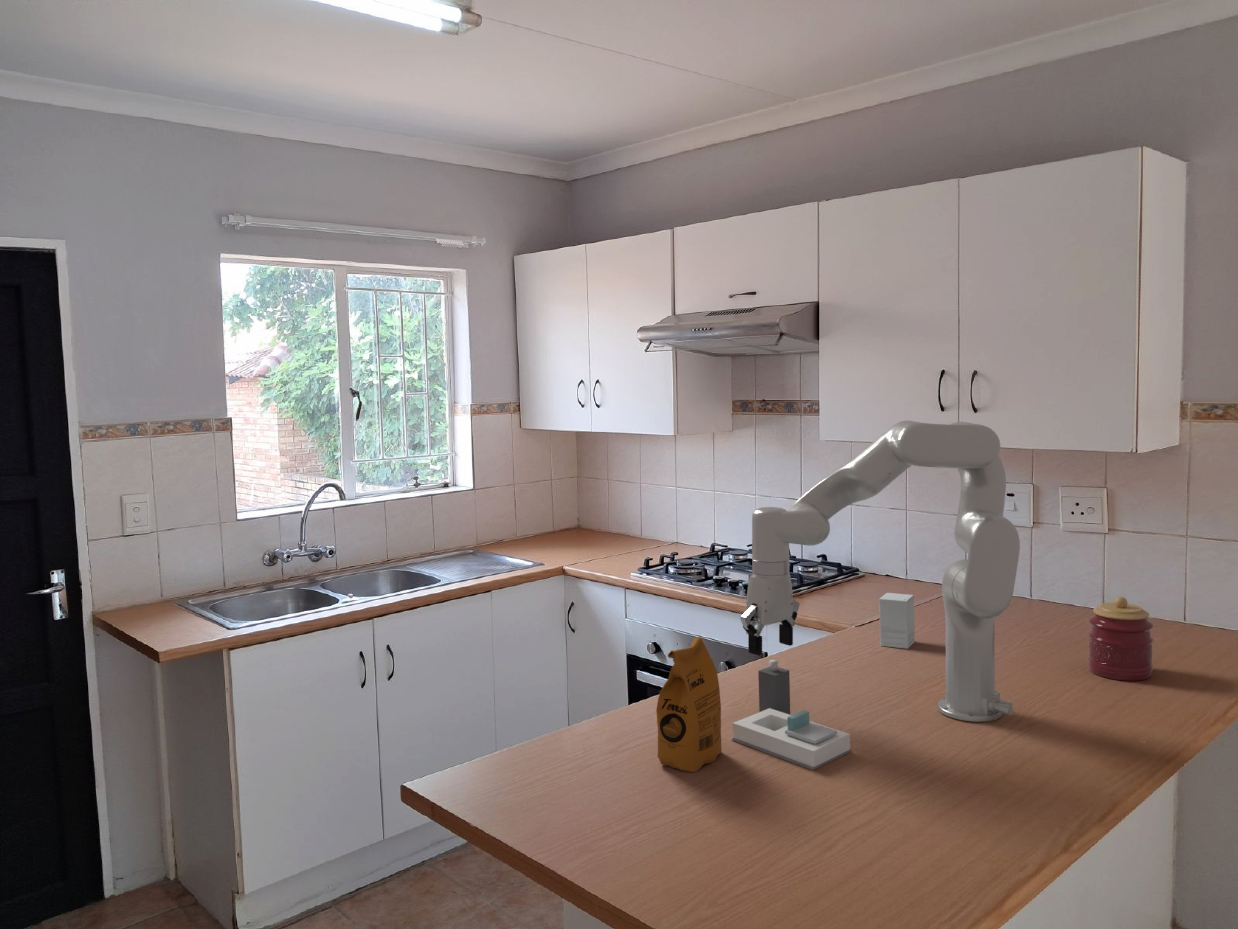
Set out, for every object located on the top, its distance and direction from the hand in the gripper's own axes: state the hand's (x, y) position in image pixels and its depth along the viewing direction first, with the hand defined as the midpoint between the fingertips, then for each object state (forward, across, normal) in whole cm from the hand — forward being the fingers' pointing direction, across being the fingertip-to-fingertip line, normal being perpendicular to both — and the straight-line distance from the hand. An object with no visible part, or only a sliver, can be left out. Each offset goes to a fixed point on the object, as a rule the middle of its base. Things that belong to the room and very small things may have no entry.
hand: (770, 649), depth 190 cm
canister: (+13, -76, +40) cm, 86 cm away
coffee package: (+15, +26, +2) cm, 31 cm away
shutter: (+11, +9, +17) cm, 22 cm away
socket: (+15, +9, +12) cm, 21 cm away
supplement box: (+14, -62, -10) cm, 64 cm away
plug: (+15, -1, 0) cm, 15 cm away
